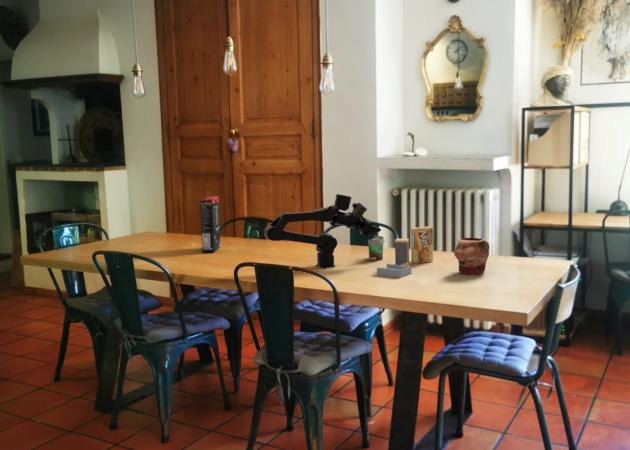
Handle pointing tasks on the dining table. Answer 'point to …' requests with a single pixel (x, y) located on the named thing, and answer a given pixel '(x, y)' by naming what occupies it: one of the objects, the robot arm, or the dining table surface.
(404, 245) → the plug block
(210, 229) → the graphics card box
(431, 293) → the dining table surface
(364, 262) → the dining table surface
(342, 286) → the dining table surface
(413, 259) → the candy box
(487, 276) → the dining table surface
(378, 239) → the food container
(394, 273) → the header shroud
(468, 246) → the decorative planter
